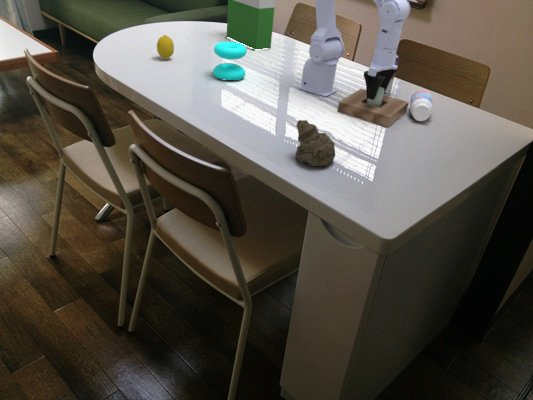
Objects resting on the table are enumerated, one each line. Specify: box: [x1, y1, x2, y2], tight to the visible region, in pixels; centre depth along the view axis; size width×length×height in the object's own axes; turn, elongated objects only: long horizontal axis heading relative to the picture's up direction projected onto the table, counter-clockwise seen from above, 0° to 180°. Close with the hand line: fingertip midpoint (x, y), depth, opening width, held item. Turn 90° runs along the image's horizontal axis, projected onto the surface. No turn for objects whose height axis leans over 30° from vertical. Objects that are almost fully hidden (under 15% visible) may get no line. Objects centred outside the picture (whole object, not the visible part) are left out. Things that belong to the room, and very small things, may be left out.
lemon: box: [156, 34, 175, 60], centre depth 162 cm, size 6×6×8 cm
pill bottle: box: [409, 89, 433, 122], centre depth 139 cm, size 6×6×11 cm
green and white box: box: [226, 0, 276, 49], centre depth 182 cm, size 18×7×24 cm, turn 42°
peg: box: [367, 87, 384, 107], centre depth 138 cm, size 4×4×7 cm
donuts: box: [212, 41, 248, 81], centre depth 152 cm, size 10×10×10 cm
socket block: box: [337, 88, 410, 128], centre depth 139 cm, size 15×15×3 cm
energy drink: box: [383, 54, 399, 96], centre depth 151 cm, size 5×5×12 cm
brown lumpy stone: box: [295, 119, 336, 167], centre depth 110 cm, size 11×12×10 cm
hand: (375, 95), depth 138 cm, fingers open, 7 cm apart
